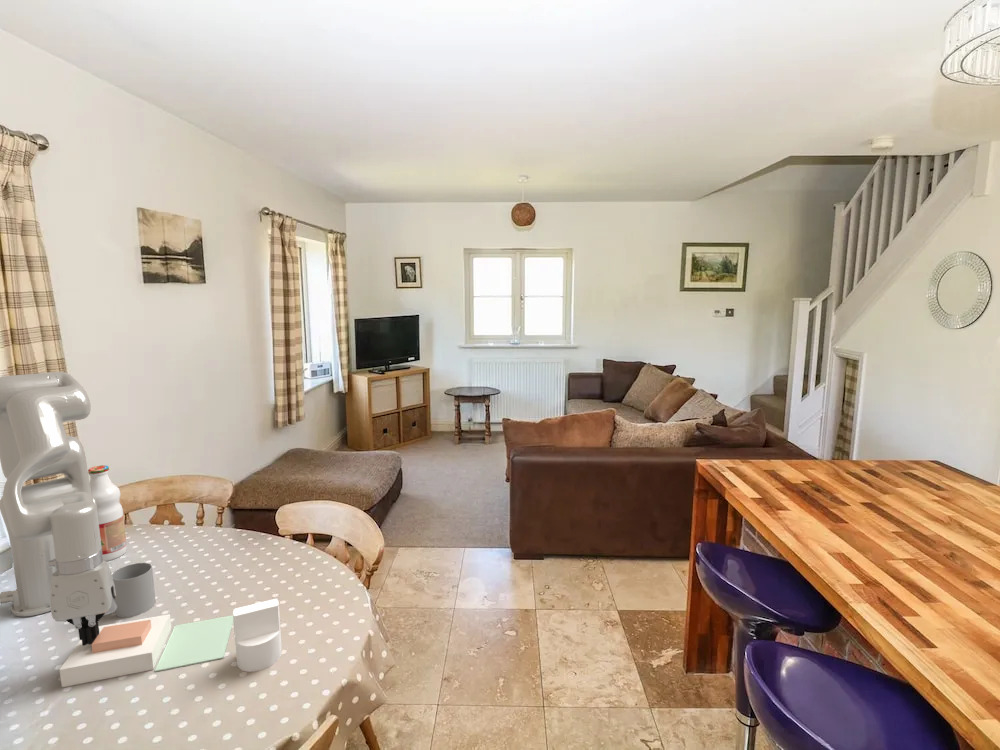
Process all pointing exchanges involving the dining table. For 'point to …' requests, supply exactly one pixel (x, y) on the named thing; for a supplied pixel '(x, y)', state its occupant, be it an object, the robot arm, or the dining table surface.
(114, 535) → the fruit juice
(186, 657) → the mat
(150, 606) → the cup
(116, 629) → the tile
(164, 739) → the dining table surface
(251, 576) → the dining table surface
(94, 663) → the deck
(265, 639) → the cylinder with rectangular tab
